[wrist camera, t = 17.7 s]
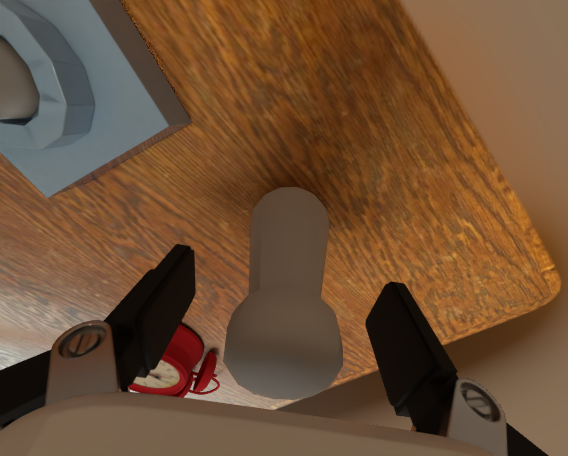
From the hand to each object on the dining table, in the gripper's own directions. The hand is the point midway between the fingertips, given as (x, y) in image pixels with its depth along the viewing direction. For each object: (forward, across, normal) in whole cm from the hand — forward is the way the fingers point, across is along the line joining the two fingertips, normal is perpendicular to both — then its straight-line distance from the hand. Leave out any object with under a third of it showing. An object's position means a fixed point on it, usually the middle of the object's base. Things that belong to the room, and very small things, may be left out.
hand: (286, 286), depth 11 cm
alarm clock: (+9, +11, +22) cm, 27 cm away
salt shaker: (+9, 0, 0) cm, 9 cm away
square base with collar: (+9, +16, -6) cm, 19 cm away
